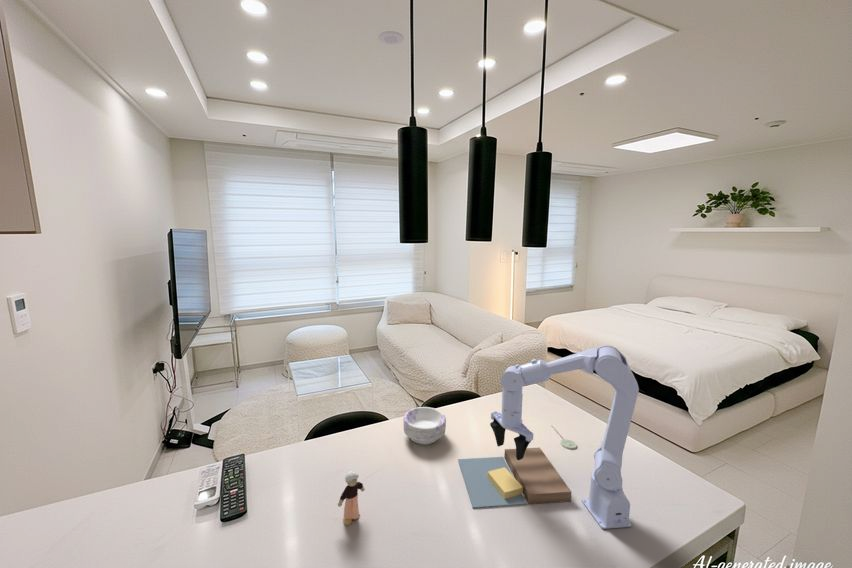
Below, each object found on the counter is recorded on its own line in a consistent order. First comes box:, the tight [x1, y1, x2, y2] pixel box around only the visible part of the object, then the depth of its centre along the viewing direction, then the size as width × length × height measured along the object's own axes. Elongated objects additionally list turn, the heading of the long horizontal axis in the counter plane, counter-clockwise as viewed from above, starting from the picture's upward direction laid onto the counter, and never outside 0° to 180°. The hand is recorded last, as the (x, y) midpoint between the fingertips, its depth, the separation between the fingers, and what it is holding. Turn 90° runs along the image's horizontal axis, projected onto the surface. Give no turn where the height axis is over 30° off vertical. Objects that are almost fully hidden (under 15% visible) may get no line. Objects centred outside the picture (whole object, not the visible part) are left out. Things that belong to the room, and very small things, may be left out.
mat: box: [457, 456, 528, 510], centre depth 102 cm, size 20×15×1 cm
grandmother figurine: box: [337, 470, 365, 526], centre depth 87 cm, size 8×4×13 cm, turn 148°
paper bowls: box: [403, 406, 447, 445], centre depth 123 cm, size 15×15×8 cm
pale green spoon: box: [551, 424, 577, 450], centre depth 125 cm, size 5×1×15 cm
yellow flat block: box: [487, 467, 524, 499], centre depth 99 cm, size 9×6×2 cm, turn 20°
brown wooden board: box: [503, 447, 572, 505], centre depth 103 cm, size 20×12×3 cm, turn 6°
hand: (509, 451), depth 101 cm, fingers open, 7 cm apart
